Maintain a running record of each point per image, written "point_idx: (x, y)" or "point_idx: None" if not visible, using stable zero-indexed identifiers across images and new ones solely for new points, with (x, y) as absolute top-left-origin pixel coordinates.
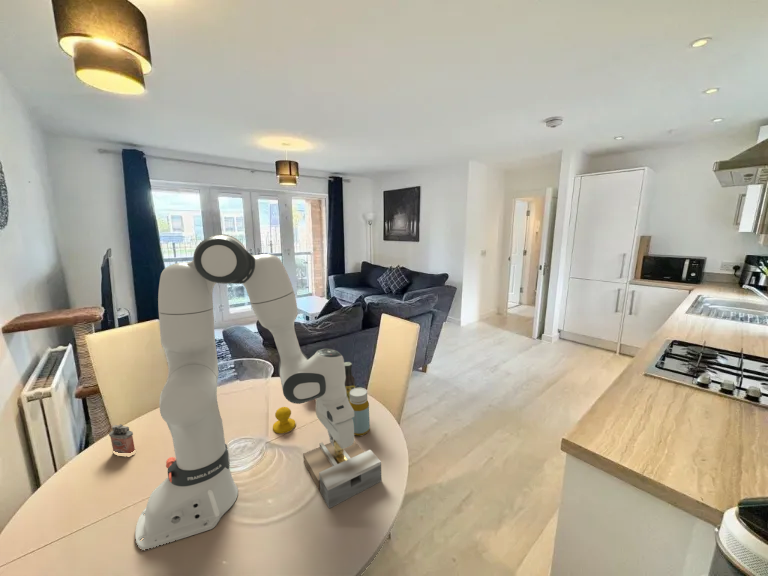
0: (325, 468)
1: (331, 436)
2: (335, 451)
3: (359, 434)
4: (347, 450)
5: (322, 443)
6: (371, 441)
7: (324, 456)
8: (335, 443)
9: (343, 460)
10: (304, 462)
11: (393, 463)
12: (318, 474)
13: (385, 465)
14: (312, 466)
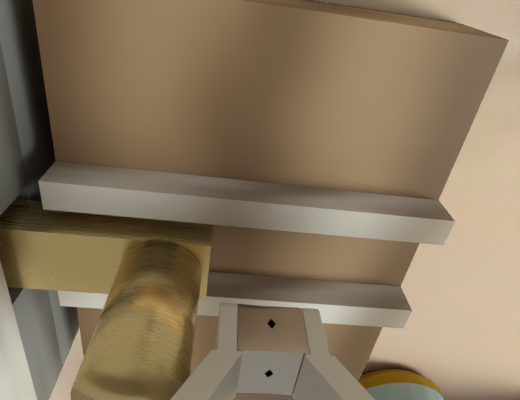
0: (158, 112)
1: (310, 377)
2: (135, 287)
3: None
4: None
5: (427, 237)
6: (266, 395)
7: (304, 176)
8: (121, 374)
9: (74, 267)
10: (445, 22)
11: (57, 389)
12: (119, 16)
13: (64, 364)
14: (266, 24)
